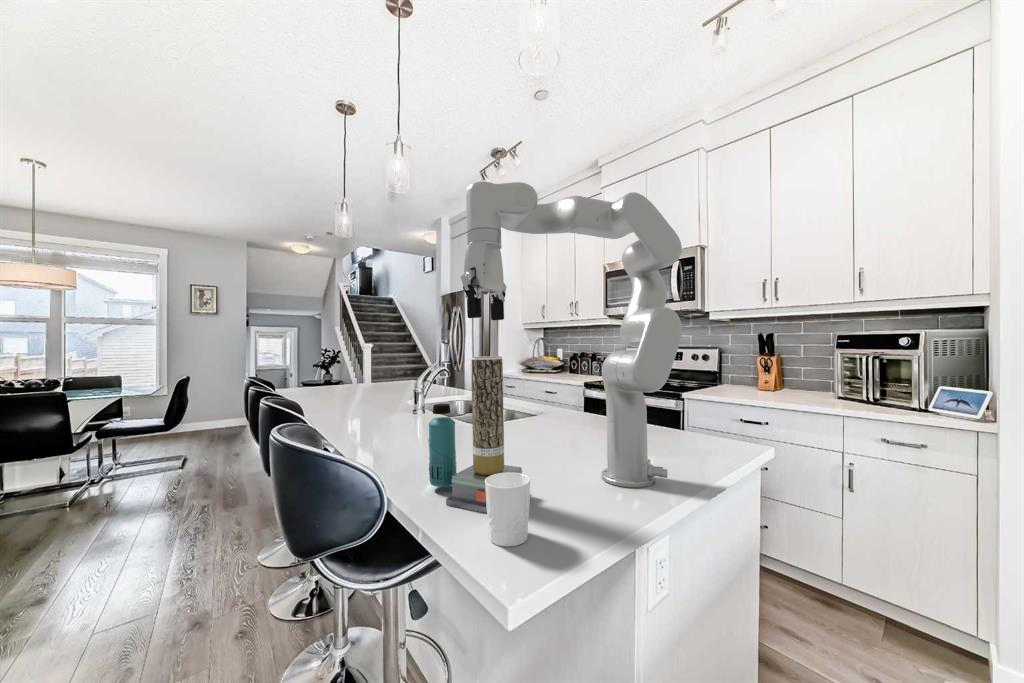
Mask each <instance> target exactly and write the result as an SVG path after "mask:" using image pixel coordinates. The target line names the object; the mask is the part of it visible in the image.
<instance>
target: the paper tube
mask: <svg viewBox="0 0 1024 683" xmlns="http://www.w3.org/2000/svg"><path fill="white" fill-rule="evenodd" d="M470 364H471V407H472V408H471V413H472V415H471V416H472V418H471V420H472V421H471V422H472V460H473V461H472V463H473V464H472V465H473V469H474V471H475V472H476V473H478V474H481V475H494V474H498V473H501V472H502V471H503V470H504V465H505V431H504V430H505V429H504V428H505V427H504V426H505V425H504V418H505V417H504V377H503V374H504V370H503V369H504V366H503V356H500V355H499V356H498V355H496V356H495V355H494V356H492V355H491V356H485V355H484V356H472V357H471V363H470Z"/></svg>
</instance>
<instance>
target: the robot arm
mask: <svg viewBox="0 0 1024 683" xmlns="http://www.w3.org/2000/svg"><path fill="white" fill-rule="evenodd" d="M538 201H539V197H538V192H537V191H536V189H535V187H533V186H531V185H530V184H528V183H526V182H519V181H516V182H515V181H514V182H507V183H506V182H505V183H503V182H502V183H493V182H489V181H475V182H473V183H471V184H469V185H468V187H467V188H466V192H465V202H466V203H465V205H466V206H465V207H466V210H465V211H466V239H467V241H466V242H467V243H466V244H467V245H466V247H465V252H464V260H463V261H464V262H463V274H461V275H460V279H461V282H462V289H463V291H464V293H465V295H464V296H465V299H466V311H467V312H466V313H467V318H468V319H478V318H480V319H481V318H482V298H481V297H480V296H481V295H485V296H486V295H489V297H490V298H489V299H490V300H491V303H490V320H491V321H503V320H504V319H505V301H506V300H505V298H506V292H507V284H506V283H505V282H504V279H505V278H504V267H503V259H502V258H503V257H502V252H501V249H502V247H503V246H502V229H504V230H507V231H512V232H514V233H515V232H517V233H522V234H531V235H549V234H550V235H551V234H553V235H555V234H567V233H569V234H576V235H577V234H578V235H585V236H591V237H597V238H601V239H602V238H603V239H611V240H617V239H621V238H624V237H626V236H628V235H630V234H633V233H634V235H635V236H636V237H637V239H638V240H636V241H634V242H632V243H630V244H628V246H626V248H625V249H624V250H623V252H622V255H621V263H622V266H623V269H624V270H625V272H626V274H627V276H628V278H629V279H630V282H631V287H632V288H631V289H632V290H631V294H630V299H629V301H628V305H627V308H626V311H625V313H624V317H623V319H622V321H621V325H620V330H619V335H620V336H619V337H620V339H621V341H622V343H623V344H625V345H626V346H628V347H630V348H637V349H636V350H634V349H630V350H628V349H625V350H623V349H621V350H617V351H616V350H615V351H614V352H611V353H610V354H608V355H607V356H606V357H605V359H604V360H603V364H602V366H601V378H602V383H603V387H604V394H605V405H606V407H605V408H606V410H605V411H606V445H607V446H606V449H607V450H606V452H607V453H606V454H607V456H606V457H607V468H605V469H603V470H602V471H601V478H602V480H603V481H605V482H606V483H608V484H611V485H614V486H618V487H624V488H643V487H649V486H651V485H653V484H654V483H655V482H656V477H659V478H664V479H667V478H668V474H669V473H668V469H667V468H664V466H655V465H654V464H651V463H652V462H651V461H652V460H651V459H649V458H648V456H649V454H648V426H647V425H648V420H647V419H648V418H647V417H648V416H647V414H648V413H647V412H648V411H647V403H646V398H645V395H644V393H649V394H650V393H655V392H657V391H659V390H660V389H662V388H663V386H664V385H666V383H667V381H668V379H669V377H670V374H671V371H672V367H673V365H674V362H675V360H676V355H677V353H678V349H679V345H680V343H681V339H682V334H683V333H682V332H683V326H682V321H681V319H680V316H679V314H677V312H676V311H675V310H674V309H672V308H671V307H670V308H669V307H666V302H667V297H668V287H667V286H666V283H665V280H664V279H663V277H662V275H661V274H660V272H659V270H661V269H665V268H666V269H667V268H668V267H671V266H673V265H674V264H676V263H677V262H678V261H679V259H680V258H681V256H682V252H683V250H682V242H681V240H680V238H679V235H678V234H677V232H676V231H675V230H674V229H673V227H672V226H671V225H670V224H669V222H668V221H667V220H666V218H665V217H664V216H663V214H662V213H661V212H660V211H659V209H658V208H657V207H656V206H655V205H654V204H653V202H652V201H651V200H649V199H648V198H647V197H646V196H645V195H643V194H641V193H638V192H633V191H632V192H629V193H626V194H625V195H623V196H621V197H620V198H618V199H617V200H615V201H607V200H601V199H598V198H597V199H596V198H591V197H586V196H581V195H571V196H566V197H563V198H561V199H558V200H556V201H553V202H547V203H538Z"/></svg>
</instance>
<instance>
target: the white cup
mask: <svg viewBox="0 0 1024 683" xmlns="http://www.w3.org/2000/svg"><path fill="white" fill-rule="evenodd" d="M485 492H486V508H487V513H486V515H487V516H486V518H487V524H488V539H489V540H490V542H491V543H492V544H494V545H496V546H500V547H505V548H507V547H516V546H519V545H522V544H524V543H525V542H526V541H527V540H528V535H529V522H530V501H531V500H530V499H531V498H530V494H531V478H530V477H529V476H528V475H526V474H523V473H522V474H520V473H510V472H508V473H498V474H494V475H491V476H489V477H487V478H486V479H485Z"/></svg>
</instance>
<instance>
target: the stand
mask: <svg viewBox="0 0 1024 683" xmlns="http://www.w3.org/2000/svg"><path fill="white" fill-rule="evenodd" d="M508 472H510V473H520V474H523V468H522V466H514V465H506V464H504V470H503V471H502V472H501V473H508ZM456 473H457V474H455V475H453V476H452V485H451V486H452V495H451V496H449V497H448V498H446V499H445V505H446V506H448V505H449V506H450V507H453V506H454V508H458V507H460V508H459V509H463V508H465V509H464V510H467V509H470V510H469V511H472V510H476V511H475V512H477V511H480V512H479V513H482V512H485V513H484V514H487V508H486V492H485V479H486V478H487V477H489V476H491V475H481V474H478V473H476V472H475V471H474V469H473V464H472V465H470V466H468V467H467V468H464V469H463V470H461V471H459V472H456Z"/></svg>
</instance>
